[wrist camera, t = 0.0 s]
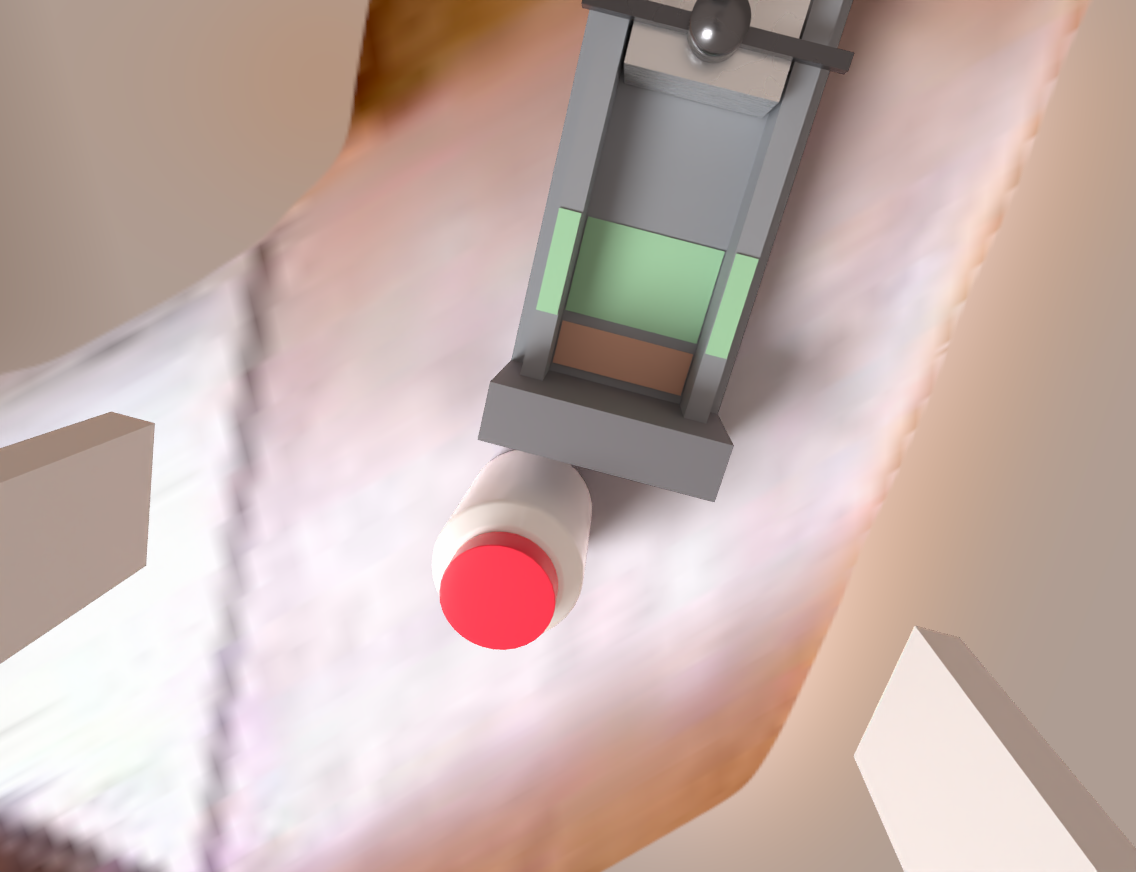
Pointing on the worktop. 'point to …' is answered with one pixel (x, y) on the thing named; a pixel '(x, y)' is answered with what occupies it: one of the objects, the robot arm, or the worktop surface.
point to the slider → (719, 49)
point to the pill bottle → (514, 551)
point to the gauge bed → (649, 268)
